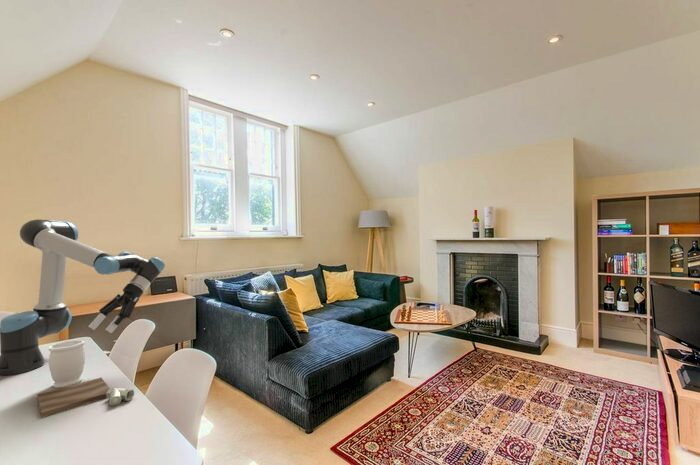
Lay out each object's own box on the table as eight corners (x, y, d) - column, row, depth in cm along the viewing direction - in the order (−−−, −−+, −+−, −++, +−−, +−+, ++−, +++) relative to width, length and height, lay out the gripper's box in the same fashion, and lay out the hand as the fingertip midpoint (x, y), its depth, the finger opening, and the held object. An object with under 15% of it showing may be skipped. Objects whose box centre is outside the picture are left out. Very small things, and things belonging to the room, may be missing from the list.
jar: (55, 392, 120) (54, 350, 120) (45, 385, 125) (44, 346, 125) (90, 380, 129) (89, 341, 129) (79, 375, 134) (78, 338, 134)
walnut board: (37, 398, 115) (37, 394, 115) (101, 381, 128) (101, 377, 128) (41, 417, 103) (41, 412, 103) (111, 395, 116) (111, 391, 116)
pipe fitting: (116, 409, 108) (134, 397, 114) (115, 397, 107) (133, 386, 114) (97, 407, 109) (115, 395, 116) (96, 395, 109) (114, 385, 116)
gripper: (159, 293, 146) (123, 337, 133) (127, 291, 158) (92, 331, 145) (146, 283, 142) (108, 328, 128) (115, 281, 154) (77, 322, 140)
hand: (99, 329), depth 137 cm, fingers open, 13 cm apart
